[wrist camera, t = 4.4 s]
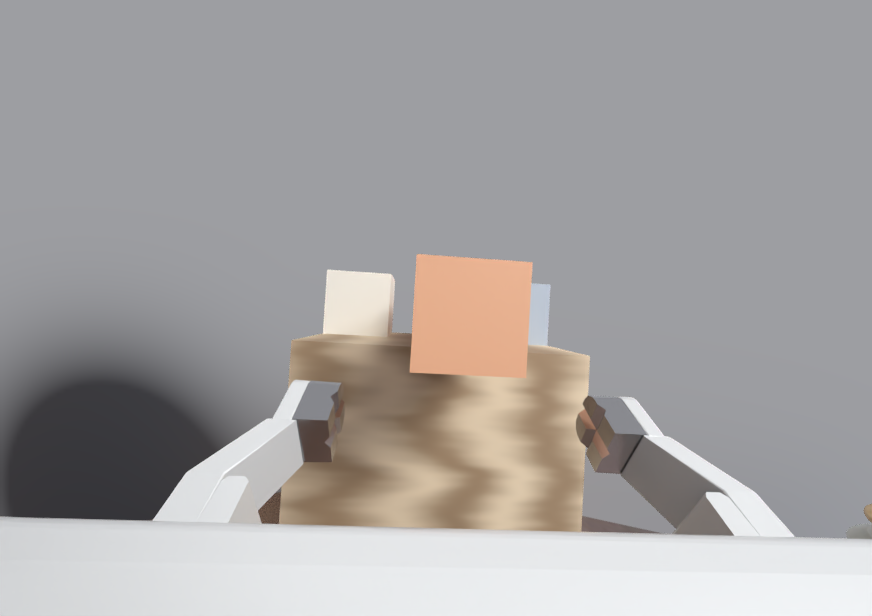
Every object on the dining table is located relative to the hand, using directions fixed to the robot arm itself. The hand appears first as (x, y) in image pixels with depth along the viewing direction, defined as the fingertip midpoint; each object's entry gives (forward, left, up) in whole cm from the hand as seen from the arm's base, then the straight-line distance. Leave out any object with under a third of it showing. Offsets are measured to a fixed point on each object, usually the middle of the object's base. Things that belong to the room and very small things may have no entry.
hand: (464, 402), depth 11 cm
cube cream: (-6, +18, +1) cm, 19 cm away
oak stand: (0, +15, -25) cm, 29 cm away
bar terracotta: (0, +11, +1) cm, 11 cm away
